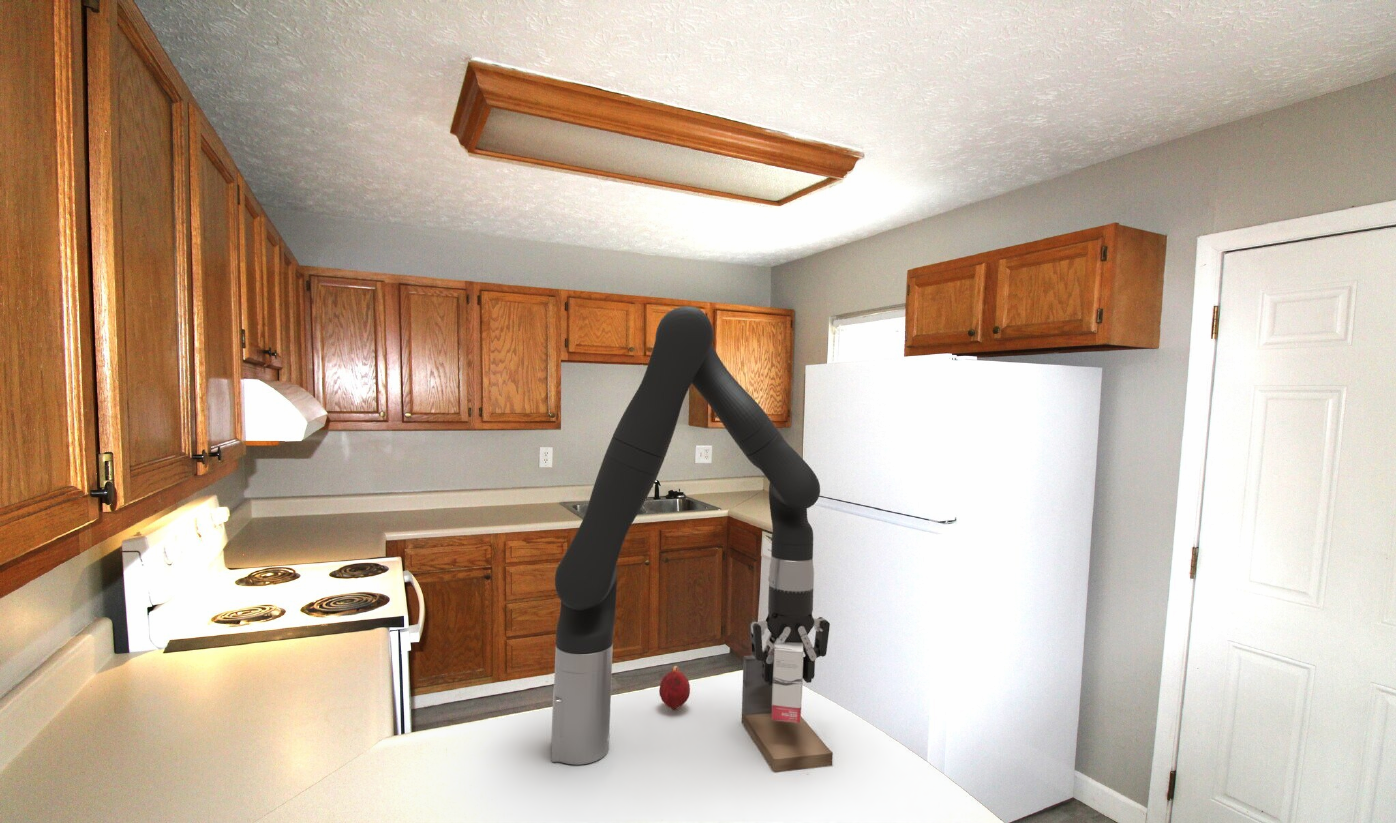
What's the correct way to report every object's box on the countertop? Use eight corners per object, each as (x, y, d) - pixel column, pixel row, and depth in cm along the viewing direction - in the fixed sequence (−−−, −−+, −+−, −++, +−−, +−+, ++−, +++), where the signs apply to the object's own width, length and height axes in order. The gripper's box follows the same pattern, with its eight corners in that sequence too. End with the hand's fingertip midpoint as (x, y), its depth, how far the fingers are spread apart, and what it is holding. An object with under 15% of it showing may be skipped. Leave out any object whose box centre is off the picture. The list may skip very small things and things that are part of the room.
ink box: (802, 724, 98) (803, 650, 99) (771, 721, 99) (771, 648, 100) (802, 700, 107) (803, 632, 107) (774, 698, 108) (774, 630, 108)
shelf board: (773, 772, 95) (776, 694, 95) (741, 722, 111) (743, 655, 111) (832, 765, 98) (834, 690, 98) (792, 717, 113) (794, 652, 113)
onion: (688, 717, 112) (690, 673, 112) (657, 716, 112) (659, 672, 112) (689, 703, 118) (691, 661, 118) (659, 701, 118) (661, 660, 118)
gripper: (758, 591, 98) (755, 695, 98) (840, 587, 102) (837, 688, 102) (743, 579, 106) (740, 676, 105) (820, 576, 109) (817, 670, 109)
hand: (788, 682), depth 103 cm, fingers closed on ink box, 6 cm apart
